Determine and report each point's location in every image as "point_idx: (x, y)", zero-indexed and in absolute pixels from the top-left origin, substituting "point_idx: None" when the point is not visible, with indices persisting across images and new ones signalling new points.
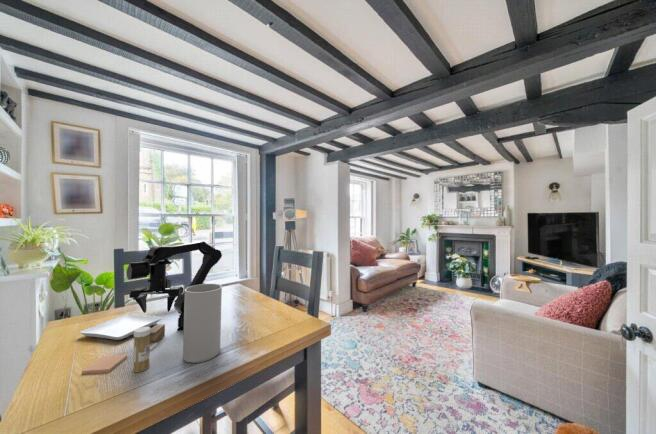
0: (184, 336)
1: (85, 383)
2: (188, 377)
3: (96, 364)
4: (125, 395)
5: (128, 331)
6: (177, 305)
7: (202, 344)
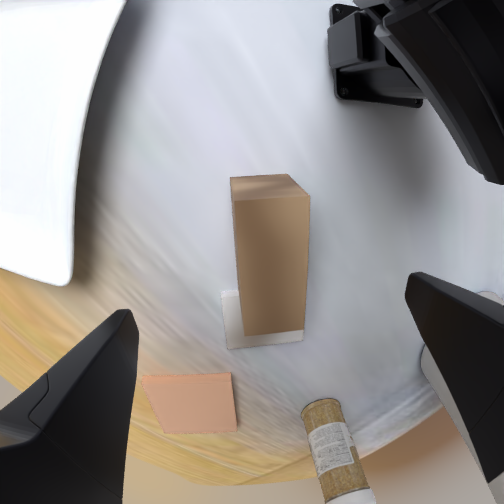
0: (454, 423)
1: (215, 445)
2: (426, 403)
3: (173, 417)
4: None
5: (20, 137)
6: (468, 109)
7: None
